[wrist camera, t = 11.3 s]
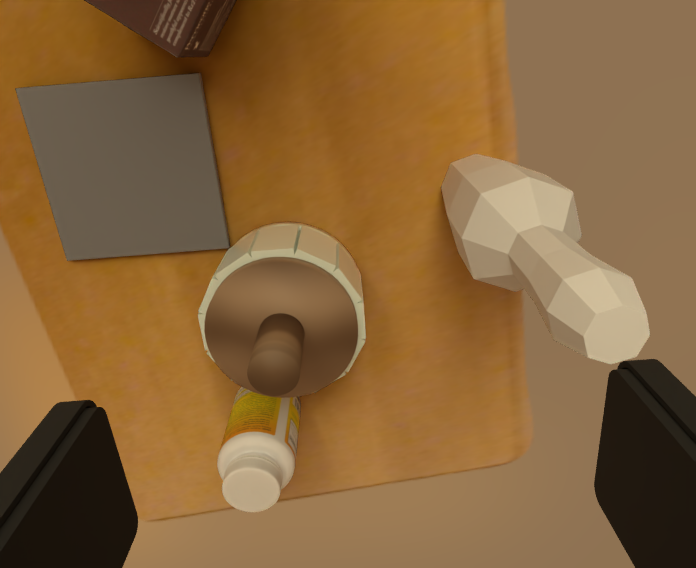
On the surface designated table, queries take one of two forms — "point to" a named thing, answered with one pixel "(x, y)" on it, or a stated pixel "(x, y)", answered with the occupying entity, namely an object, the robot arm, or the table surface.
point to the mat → (128, 165)
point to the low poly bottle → (542, 255)
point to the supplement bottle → (258, 449)
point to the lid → (281, 327)
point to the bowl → (294, 244)
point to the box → (172, 22)
